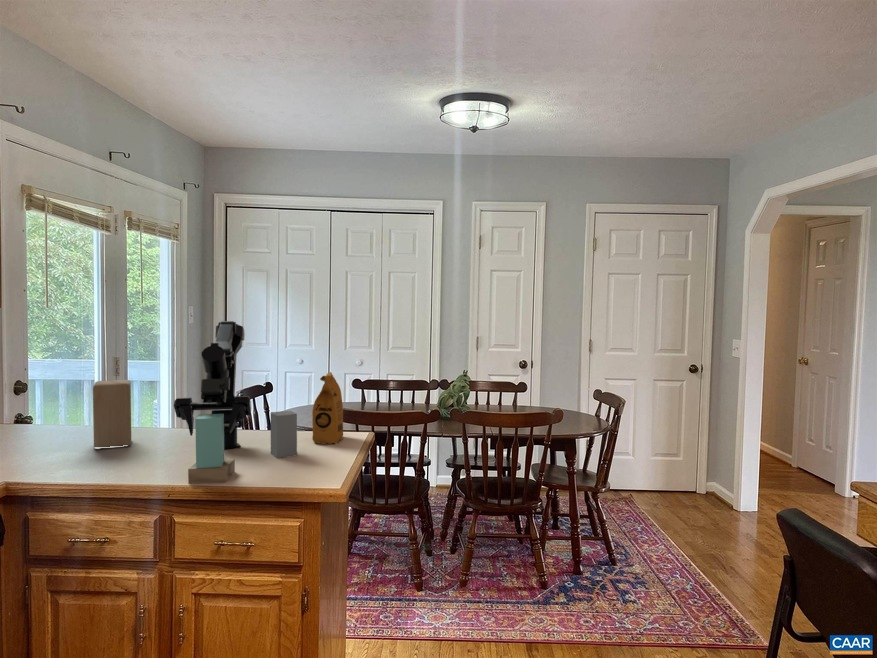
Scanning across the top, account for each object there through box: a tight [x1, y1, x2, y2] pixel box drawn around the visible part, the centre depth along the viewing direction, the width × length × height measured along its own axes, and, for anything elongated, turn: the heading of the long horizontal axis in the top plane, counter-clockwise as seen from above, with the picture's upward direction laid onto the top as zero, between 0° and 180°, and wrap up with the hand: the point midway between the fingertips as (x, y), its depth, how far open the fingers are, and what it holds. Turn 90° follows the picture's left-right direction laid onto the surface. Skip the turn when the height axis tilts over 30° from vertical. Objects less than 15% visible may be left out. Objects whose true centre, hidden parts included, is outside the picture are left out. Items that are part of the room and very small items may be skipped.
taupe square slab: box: [187, 458, 236, 484], centre depth 149 cm, size 9×9×4 cm
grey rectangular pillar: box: [270, 410, 298, 459], centre depth 172 cm, size 6×6×12 cm
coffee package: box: [311, 371, 344, 445], centre depth 189 cm, size 10×12×22 cm
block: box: [92, 379, 132, 448], centre depth 180 cm, size 10×10×20 cm
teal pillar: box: [194, 413, 225, 468], centre depth 148 cm, size 6×6×12 cm
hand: (210, 433), depth 147 cm, fingers open, 9 cm apart
